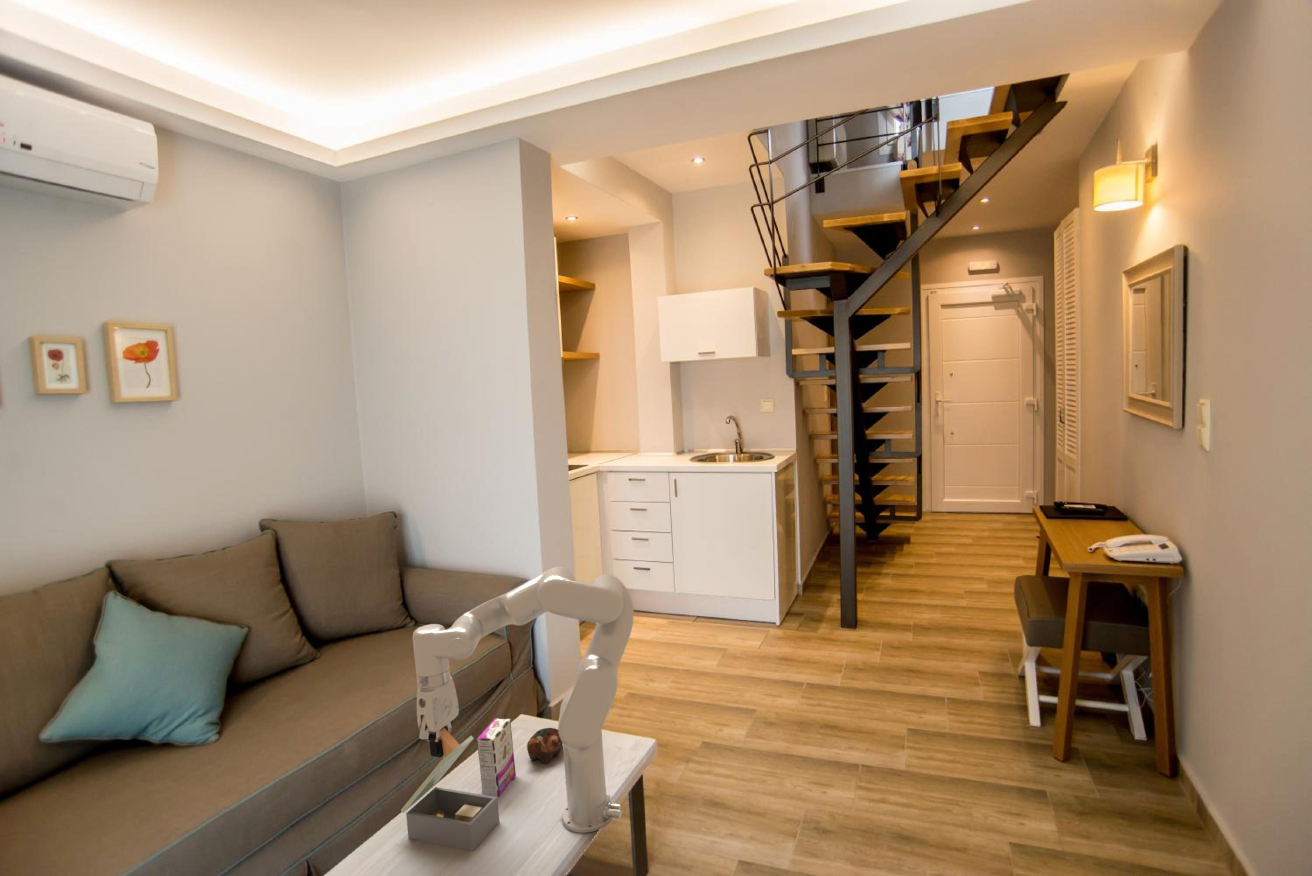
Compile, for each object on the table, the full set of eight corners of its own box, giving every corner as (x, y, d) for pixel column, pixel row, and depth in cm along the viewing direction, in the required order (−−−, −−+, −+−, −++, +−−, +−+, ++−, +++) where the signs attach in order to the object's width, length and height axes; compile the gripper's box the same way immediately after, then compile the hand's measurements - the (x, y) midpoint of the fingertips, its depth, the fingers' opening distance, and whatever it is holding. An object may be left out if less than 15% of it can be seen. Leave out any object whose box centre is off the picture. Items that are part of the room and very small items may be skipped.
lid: (473, 738, 168) (455, 718, 170) (444, 763, 157) (425, 742, 159) (434, 785, 174) (417, 766, 175) (403, 813, 163) (385, 792, 164)
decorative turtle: (517, 768, 193) (515, 739, 193) (546, 745, 206) (544, 718, 207) (547, 772, 189) (544, 743, 189) (574, 748, 203) (572, 720, 203)
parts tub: (499, 824, 168) (497, 797, 167) (473, 854, 157) (470, 825, 157) (438, 813, 174) (435, 787, 173) (408, 841, 163) (406, 813, 163)
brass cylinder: (448, 827, 167) (447, 811, 166) (438, 837, 163) (436, 821, 163) (435, 824, 168) (433, 809, 168) (424, 835, 164) (422, 819, 164)
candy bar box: (499, 775, 190) (494, 717, 189) (516, 776, 189) (511, 718, 188) (481, 799, 179) (476, 738, 178) (499, 800, 178) (494, 739, 177)
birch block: (483, 823, 167) (482, 807, 167) (473, 833, 164) (472, 817, 163) (466, 820, 169) (464, 804, 169) (456, 830, 165) (454, 814, 165)
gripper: (424, 694, 155) (433, 773, 156) (467, 665, 170) (474, 737, 171) (397, 691, 157) (405, 769, 158) (441, 663, 172) (448, 734, 174)
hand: (441, 752), depth 165 cm, fingers closed on lid, 2 cm apart
